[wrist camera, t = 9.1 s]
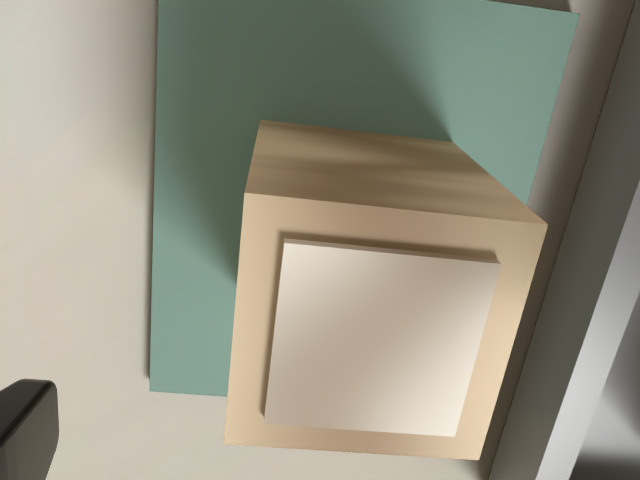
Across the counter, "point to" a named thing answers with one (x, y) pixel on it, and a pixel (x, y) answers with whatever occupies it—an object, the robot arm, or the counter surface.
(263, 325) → the labelled block
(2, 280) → the counter surface
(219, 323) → the green mat
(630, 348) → the charcoal bin
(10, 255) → the counter surface
